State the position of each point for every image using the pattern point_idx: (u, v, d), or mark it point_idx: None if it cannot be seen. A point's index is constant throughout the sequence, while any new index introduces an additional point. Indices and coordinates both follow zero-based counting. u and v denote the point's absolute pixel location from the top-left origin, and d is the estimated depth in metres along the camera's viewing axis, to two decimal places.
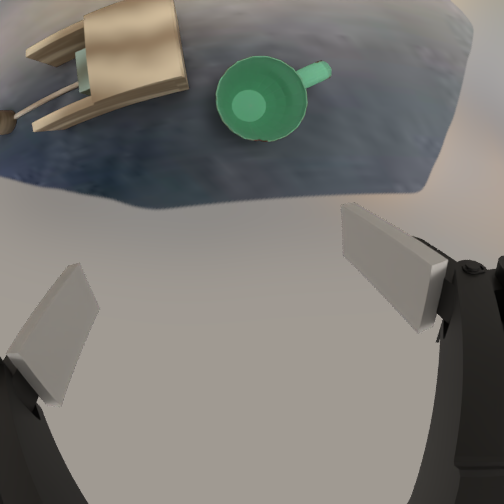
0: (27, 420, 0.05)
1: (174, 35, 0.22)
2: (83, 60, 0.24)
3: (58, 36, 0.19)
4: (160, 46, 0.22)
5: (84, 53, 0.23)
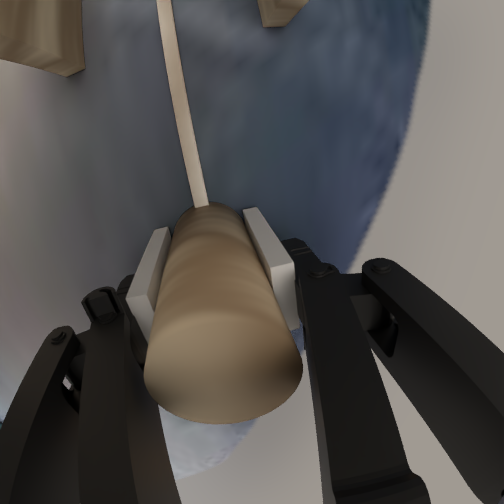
0: (137, 381, 0.06)
1: None
2: None
3: None
4: None
5: None
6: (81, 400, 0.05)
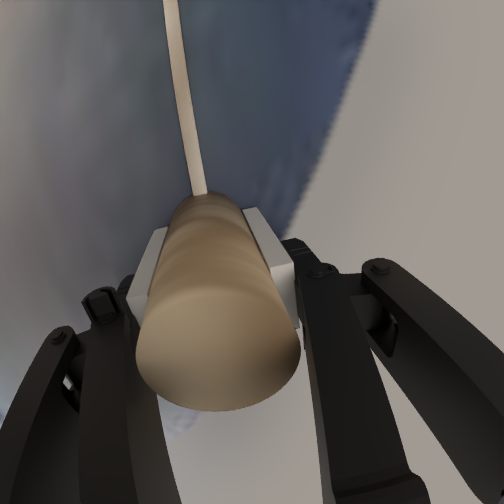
0: (137, 381, 0.06)
1: None
2: None
3: None
4: None
5: None
6: (81, 400, 0.05)
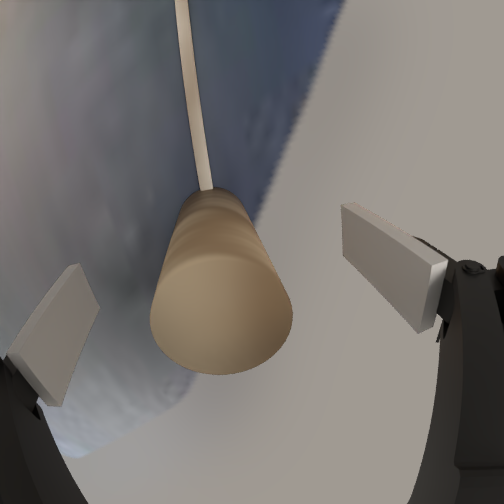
0: (27, 420, 0.05)
1: None
2: None
3: None
4: None
5: None
6: None
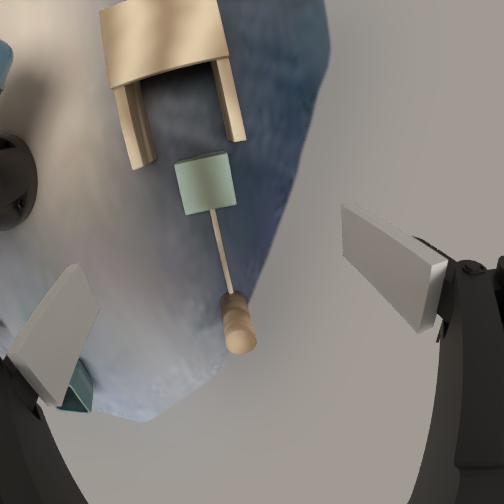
0: (27, 420, 0.05)
1: None
2: (198, 203, 0.32)
3: (127, 121, 0.24)
4: None
5: (189, 203, 0.32)
6: None
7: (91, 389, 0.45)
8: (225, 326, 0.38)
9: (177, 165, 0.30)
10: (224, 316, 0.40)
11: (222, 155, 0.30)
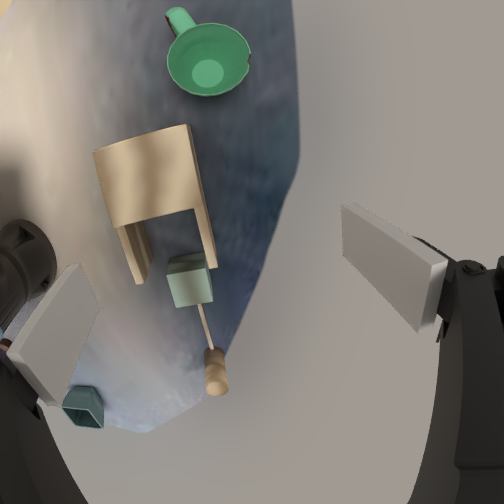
0: (27, 420, 0.05)
1: (144, 136, 0.29)
2: (185, 300, 0.43)
3: (129, 251, 0.36)
4: (155, 147, 0.30)
5: (178, 300, 0.43)
6: None
7: (102, 410, 0.55)
8: (206, 376, 0.49)
9: (168, 275, 0.41)
10: (206, 368, 0.51)
11: (201, 269, 0.42)
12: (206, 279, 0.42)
